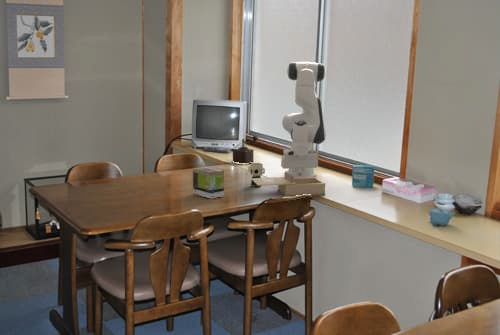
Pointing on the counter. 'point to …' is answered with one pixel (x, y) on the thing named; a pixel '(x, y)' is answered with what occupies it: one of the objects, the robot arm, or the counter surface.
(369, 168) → the data package
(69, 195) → the counter surface
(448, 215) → the teapot
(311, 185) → the tray
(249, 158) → the pepper mill
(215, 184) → the tea box
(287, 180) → the lid
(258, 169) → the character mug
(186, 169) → the counter surface
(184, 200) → the counter surface
